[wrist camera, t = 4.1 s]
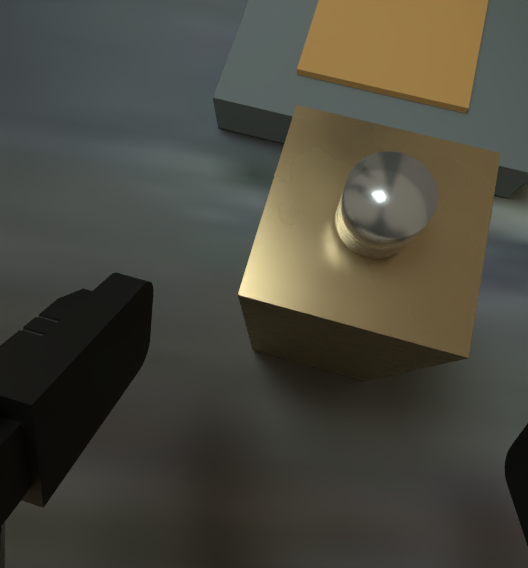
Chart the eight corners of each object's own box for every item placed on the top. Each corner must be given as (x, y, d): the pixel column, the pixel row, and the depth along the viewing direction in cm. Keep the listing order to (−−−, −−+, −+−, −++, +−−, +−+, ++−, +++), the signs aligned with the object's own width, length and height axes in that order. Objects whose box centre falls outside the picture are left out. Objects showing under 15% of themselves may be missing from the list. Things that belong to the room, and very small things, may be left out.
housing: (252, 350, 17) (233, 277, 7) (282, 248, 18) (300, 62, 8) (363, 381, 17) (503, 350, 7) (386, 275, 18) (535, 115, 8)
